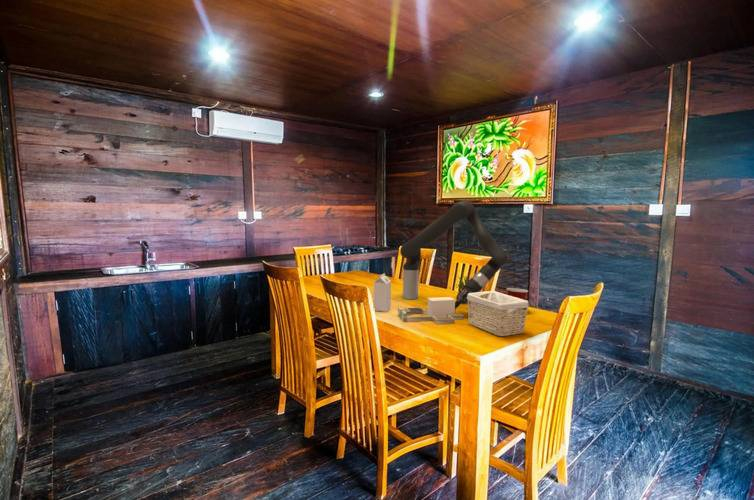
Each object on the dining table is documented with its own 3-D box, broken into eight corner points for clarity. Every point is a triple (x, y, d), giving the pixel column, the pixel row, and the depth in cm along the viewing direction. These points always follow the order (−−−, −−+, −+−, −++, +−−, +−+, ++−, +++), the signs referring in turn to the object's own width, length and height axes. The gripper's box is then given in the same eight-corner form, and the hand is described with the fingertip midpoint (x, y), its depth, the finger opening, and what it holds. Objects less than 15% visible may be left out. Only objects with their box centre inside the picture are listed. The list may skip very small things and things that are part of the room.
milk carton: (373, 310, 203) (373, 275, 201) (378, 307, 210) (378, 272, 208) (386, 312, 201) (386, 276, 198) (390, 308, 207) (391, 273, 205)
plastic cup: (530, 311, 204) (531, 288, 203) (522, 315, 196) (523, 292, 195) (510, 307, 212) (511, 285, 210) (501, 311, 204) (502, 288, 202)
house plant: (483, 301, 224) (484, 273, 222) (475, 306, 213) (476, 277, 211) (459, 298, 232) (460, 271, 230) (450, 303, 220) (451, 274, 218)
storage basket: (464, 323, 183) (465, 292, 182) (491, 319, 190) (493, 289, 188) (499, 339, 162) (500, 304, 160) (528, 334, 168) (530, 300, 166)
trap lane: (395, 312, 201) (395, 304, 201) (450, 309, 207) (450, 302, 206) (407, 325, 178) (407, 317, 178) (468, 322, 184) (468, 314, 183)
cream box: (427, 315, 195) (427, 297, 194) (450, 314, 197) (450, 297, 196) (431, 318, 189) (431, 300, 188) (454, 317, 192) (455, 299, 191)
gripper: (467, 275, 201) (443, 299, 200) (478, 280, 188) (453, 306, 187) (476, 285, 202) (453, 309, 201) (488, 290, 189) (463, 316, 189)
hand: (453, 307), depth 194 cm, fingers closed
